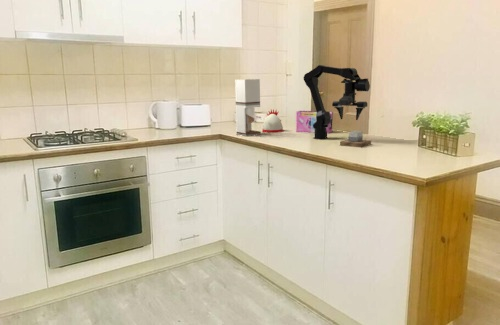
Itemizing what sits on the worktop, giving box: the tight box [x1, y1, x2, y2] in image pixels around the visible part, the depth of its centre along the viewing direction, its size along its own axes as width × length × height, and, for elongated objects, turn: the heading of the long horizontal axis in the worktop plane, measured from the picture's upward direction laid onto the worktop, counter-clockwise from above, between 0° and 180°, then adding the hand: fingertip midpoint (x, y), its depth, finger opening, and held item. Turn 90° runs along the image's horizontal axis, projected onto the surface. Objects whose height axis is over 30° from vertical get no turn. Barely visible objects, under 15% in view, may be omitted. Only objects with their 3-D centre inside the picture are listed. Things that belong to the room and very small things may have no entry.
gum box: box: [295, 110, 334, 134], centre depth 271 cm, size 24×8×14 cm, turn 60°
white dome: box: [262, 109, 284, 134], centre depth 279 cm, size 14×14×15 cm
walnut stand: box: [339, 138, 372, 148], centre depth 219 cm, size 12×12×2 cm
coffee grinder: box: [234, 78, 262, 137], centre depth 262 cm, size 11×11×35 cm
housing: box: [348, 130, 364, 142], centre depth 219 cm, size 5×6×5 cm
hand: (349, 119), depth 230 cm, fingers open, 9 cm apart
